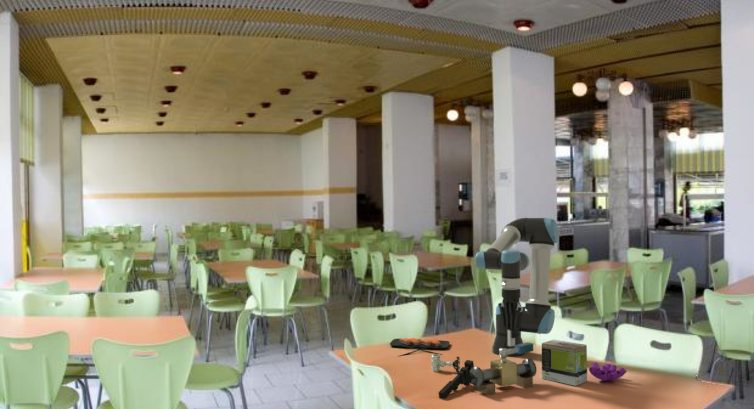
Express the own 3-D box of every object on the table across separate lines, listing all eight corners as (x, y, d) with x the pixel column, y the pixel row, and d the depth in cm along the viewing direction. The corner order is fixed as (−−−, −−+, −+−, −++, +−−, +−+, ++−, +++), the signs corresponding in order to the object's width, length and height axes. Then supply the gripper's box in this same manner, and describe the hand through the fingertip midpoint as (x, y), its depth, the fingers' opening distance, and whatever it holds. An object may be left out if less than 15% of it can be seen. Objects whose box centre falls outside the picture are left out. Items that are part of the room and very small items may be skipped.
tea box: (587, 381, 238) (587, 344, 237) (575, 387, 231) (575, 348, 230) (553, 373, 248) (553, 338, 248) (540, 378, 241) (540, 342, 241)
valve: (429, 372, 251) (457, 374, 248) (429, 356, 251) (457, 358, 248) (432, 368, 258) (460, 370, 254) (432, 352, 257) (460, 354, 254)
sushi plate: (450, 344, 301) (450, 337, 301) (443, 360, 272) (443, 351, 272) (394, 341, 307) (394, 334, 307) (381, 356, 278) (381, 348, 278)
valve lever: (503, 358, 228) (503, 350, 228) (497, 356, 230) (497, 348, 230) (533, 351, 238) (533, 343, 238) (527, 349, 240) (527, 342, 240)
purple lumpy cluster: (614, 384, 243) (629, 368, 240) (605, 394, 231) (621, 377, 228) (591, 365, 248) (606, 348, 245) (582, 373, 236) (597, 356, 233)
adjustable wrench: (439, 410, 220) (469, 379, 240) (446, 411, 218) (475, 380, 238) (437, 389, 218) (467, 359, 238) (443, 390, 217) (473, 360, 237)
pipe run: (523, 380, 239) (523, 350, 239) (537, 385, 232) (537, 355, 232) (468, 389, 228) (468, 359, 227) (481, 395, 220) (481, 364, 220)
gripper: (493, 286, 247) (493, 343, 248) (515, 291, 236) (516, 350, 237) (506, 285, 251) (506, 341, 252) (529, 289, 240) (529, 347, 240)
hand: (511, 345), depth 244 cm, fingers closed
